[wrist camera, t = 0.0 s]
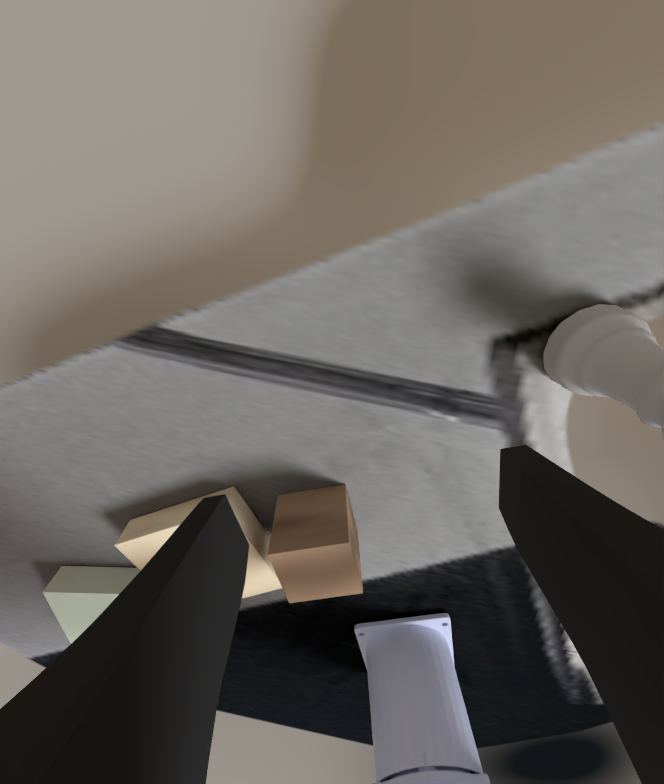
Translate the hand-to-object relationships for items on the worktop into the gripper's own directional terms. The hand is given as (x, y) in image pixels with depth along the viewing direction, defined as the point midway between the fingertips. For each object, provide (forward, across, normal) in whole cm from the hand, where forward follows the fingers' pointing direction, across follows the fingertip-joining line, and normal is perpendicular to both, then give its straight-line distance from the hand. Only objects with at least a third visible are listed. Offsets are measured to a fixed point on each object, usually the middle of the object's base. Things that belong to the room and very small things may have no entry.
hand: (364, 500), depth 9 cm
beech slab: (+10, +12, +12) cm, 20 cm away
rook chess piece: (+10, -12, +2) cm, 16 cm away
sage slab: (+10, +21, +17) cm, 29 cm away
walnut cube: (+10, +4, +11) cm, 16 cm away
